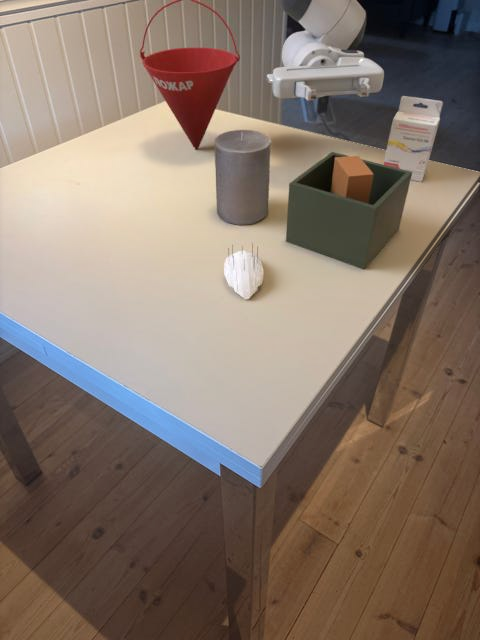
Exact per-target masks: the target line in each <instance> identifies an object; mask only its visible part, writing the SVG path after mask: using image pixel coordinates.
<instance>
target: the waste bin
mask: <svg viewBox="0 0 480 640" xmlns="http://www.w3.org/2000/svg"><path fill="white" fill-rule="evenodd" d="M347 156H348V155H347V154H342V153H339V152H335V151H331V152H330V153H328V154H327V155H326V156H324V157H322V158H321V159H320V160H319V161H317V162H316V163H315V164H313V165H311V167H309V168H308V169H307V170H305V171H304V172H303V173H301V174H299V175H298V176H297V177H296V178H294V179H293V180H292V181H290V182H289V183H288V202H287V214H286V215H287V217H286V218H287V219H286V233H285V242H287V243H289V244H292V245H295V246H298V247H300V248H303V249H306V250H309V251H311V252H315V253H318V254H320V255H322V256H326V257H329V258H331V259H333V260H336V261H340V262H342V263H345V264H348V265H350V266H354V267H356V268H359V269H362V270H365V269H367V267H368V266H369V264H370V263H371V262H372V261H373V260H374V259H375V258H376V256H377V255H379V253H380V252H381V250H383V248H384V247H385V246H386V245H387V244H388V243H389V241H390V240H391V239H392V238H393V237H394V236H395V235H396V233H398V231H399V229H400V226H401V222H402V219H403V213H404V209H405V205H406V202H407V197H408V192H409V189H410V184H411V181H412V180H411V176H412V172H410V171H406V170H402V169H398V168H394V167H391V166H387V165H384V163H383V164H382V163H379V162H374V161H370V160H368V159H367V160H366V159H362V158H361V159H362V161H363V162H364V163H365V164H366V165H367V167H368V168H369V169H370V170H371V171H372V173H373V174H374V176H373V181H372V187H371V192H370V198H369V203H368V204H367V203H364V202H360V201H357V200H354V199H350V198H347V197H343V196H340V195H337V194H333V193H331V186H332V178H333V170H334V162H335V157H347Z"/></svg>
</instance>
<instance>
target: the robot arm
mask: <svg viewBox="0 0 480 640" xmlns="http://www.w3.org/2000/svg"><path fill="white" fill-rule="evenodd" d="M280 3H281V10H282V11H283V12H284V13H285V14H287V15H288V16H289V17H291V19H293V20H294V21H296V22H297V23H299V24H300V25H301V26H302V28H303V29H304V30H302V31H296V32H294V33H292V34H290V35H289V36H288V37H287V38H286V39H285V41H284V43H283V46H282V50H281V62H282V65H283V66H278V67H275V68H274V69H273V70H272V73H268V74H266V78H265V79H266V81H267V82H268V83H270V84H271V85H272V89H271V90H272V94H273V96H274V97H275V98H277V99H282V100H283V99H296V98H301V99H305V100H306V101H309V102H310V101H316V100H317V99H319V98H323V97H327V96H328V97H329V96H341V95H342V96H343V95H357V96H358V97H359V98H367V97H369V96H370V94H372V93H379V92H380V91H381V90H382V87H383V83H384V78H385V71H384V69H383V68H382V67H381V65H380V64H378V63H376V62H375V61H374V60H372V59H370V58H367V57H365V53H364V52H363V51H361V50H356V49H357V48H358V47H359V45H360V44H361V42H362V40H363V38H364V35H365V30H366V26H367V10H366V9H364V7H362V5H361V4H360V3H359V2H358V0H280Z"/></svg>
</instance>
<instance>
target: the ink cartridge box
mask: <svg viewBox="0 0 480 640" xmlns="http://www.w3.org/2000/svg"><path fill="white" fill-rule="evenodd" d="M420 104H422V105H423V106H427V107H426V108H425V107H420V106H414V105H420ZM443 105H444V101H442V100H437V99H436V100H435V99H429V98H424V97H423V98H422V97H416V96H407V95H406V96H405V95H402V96H401V97H400V101H399V107H398V111H397V112H396V113H395V115H394V117H393V119H392V123H391V127H390V130H389V136H388V141H387V145H386V149H385V154H384V155H385V156H384V161H383V165H387V166H391V167H394V168H398V169H402V170H406V171H410V172H412V176H411V180H410V181H415V182H421V183H422V182H423V180H424V178H425V175H426V173H427V169H428V165H429V162H430V161H429V160H430V158H431V155H432V152H433V151H432V150H433V147H434V143H435V139H436V135H437V131H438V128H439V125H440V121H441V117H440V116H441V112H442V109H443Z"/></svg>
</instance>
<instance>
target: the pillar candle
mask: <svg viewBox="0 0 480 640" xmlns="http://www.w3.org/2000/svg"><path fill="white" fill-rule="evenodd" d="M271 144H272V139H271V137H269V136H268V135H267V134H265V133H263V132H260V131H258V130H252V129H251V130H250V129H237V130H236V129H234V130H229V131H225V132H222V133H220V134H218V135H217V136H216V137H215V139H214V163H215V164H214V166H215V195H216V214H217V216H218V217H219V219H220V220H222V221H224V222H226V223H228V224H231V225H237V226H238V225H239V226H240V225H241V226H243V225H246V226H247V225H253V224H256V223H258V222H259V221H262V220H263V219H264V218H266V217H267V216H268V213H269V198H270V196H269V195H270V193H269V192H270V173H271V171H270V170H271V169H270V168H271V167H270V165H271V164H270V163H271Z"/></svg>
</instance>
